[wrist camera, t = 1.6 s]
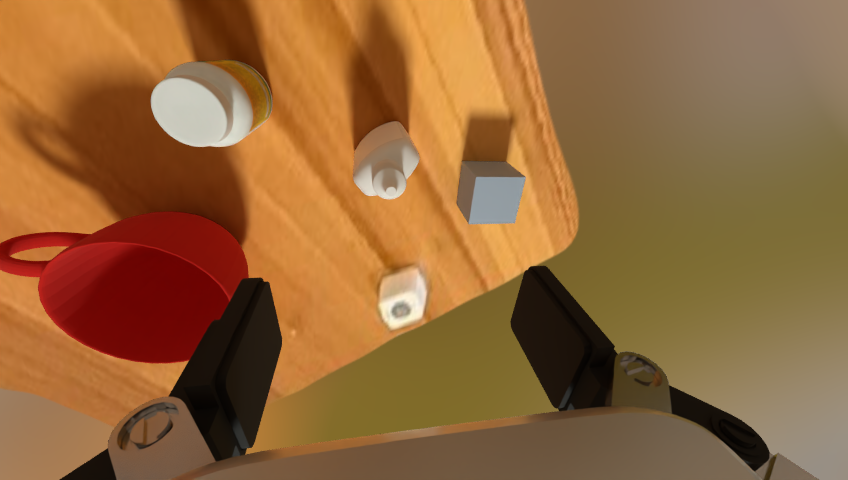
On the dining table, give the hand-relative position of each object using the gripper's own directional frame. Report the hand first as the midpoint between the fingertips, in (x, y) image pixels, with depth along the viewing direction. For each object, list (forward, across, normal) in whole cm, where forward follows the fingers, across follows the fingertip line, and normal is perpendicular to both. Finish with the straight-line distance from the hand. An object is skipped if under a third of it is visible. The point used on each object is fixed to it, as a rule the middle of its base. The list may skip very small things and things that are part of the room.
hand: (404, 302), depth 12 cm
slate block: (+23, -11, +4) cm, 26 cm away
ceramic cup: (+23, +21, +10) cm, 33 cm away
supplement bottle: (+23, +12, -4) cm, 26 cm away
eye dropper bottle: (+23, 0, 0) cm, 23 cm away
